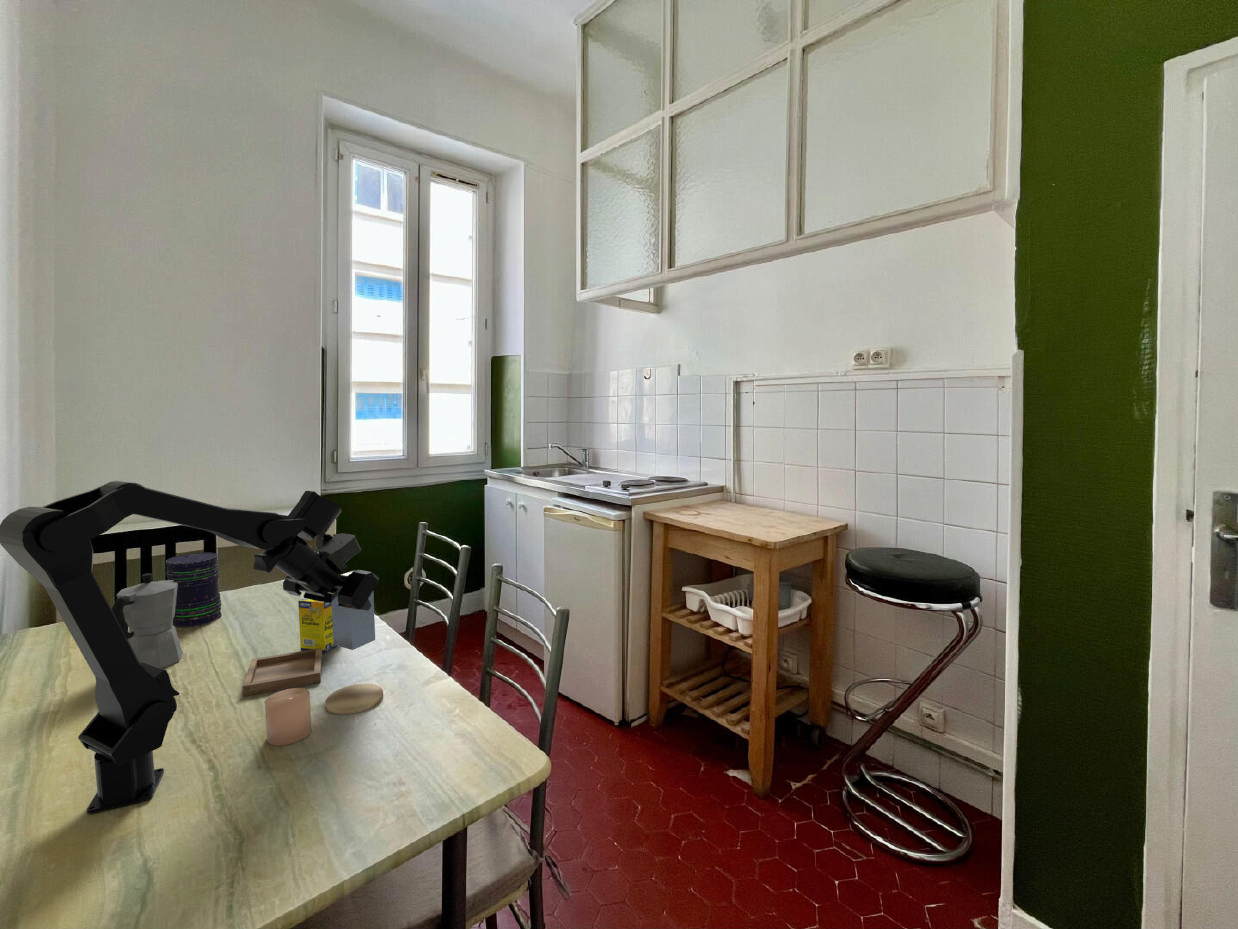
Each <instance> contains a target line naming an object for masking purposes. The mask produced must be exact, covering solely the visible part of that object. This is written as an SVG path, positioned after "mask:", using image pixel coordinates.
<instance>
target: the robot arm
mask: <svg viewBox="0 0 1238 929" xmlns="http://www.w3.org/2000/svg"><path fill="white" fill-rule="evenodd" d="M342 511H343V510H342V508H341V506H340V505H339V504H338V503H337V502H335V501H332V500H330V499H329V498H327V497H325V496H323V495H321V494H318V493H317V492H316V491H314V490H305V491H304V493H303V494H302V495H301V496H300V499H299V501H298V502H297V503H296V505H295V506H294V507H293V509H292V510H290V512H289V514H288V515H284V514H279V513H276V512H271V511H270V512H269V511H261V510H255V509H254V510H253V509H247V508H236V507H235V508H234V507H233V508H231V507H222V506H219V505H215V504H211V503H206V502H202V501H199V500H195V499H191V498H188V497H183V496H179V495H176V494H172V493H167V492H165V491H160V490H157V489H152V488H148V487H146V486H144V485H142V484H140V483H137V482H129V481H119V480H114V481H109V482H106V483H105V484H102V485H100V486H98V487H95V488H93V489H91V490H89V491H84V492H82V493H78V494H75V495H71V496H69V497H65V498H62V499H57V500H55V501H53V502H51V503H49V504H46V505H44V506H28V507H22V508H19V509H17V510H14V511H12V512H10V513H9V514H8V515H7V516H6V517H4V518H3V520H2V521H1V523H0V545H1V547H3V549H4V550H5V551H6V552H7V553H8V555H9V556H11V557H12V559H13V560H14V561H15V562H16V563H17V564H18V565H19V566H21V568H23V569H24V570H25V572H27V573H29V575H31V576H32V577H33V578H34V579H36V580H37V581H38V582H39V583H40V584H41V585H42V586H43V587H44V589H45V591H46V592H47V594H48V596H49V598H50V599H51V602H52V603H53V604H54V607H55V608H56V611H57V612H58V614H59V615H60V617H61V620H62V621H63V622H64V624H65V626H66V628H67V630H68V631H69V633H70V635H71V637H72V638H73V641H75V643H76V645H77V647H78V650H79V651H80V653H81V654H82V657H83V658H84V660H85V661H86V664H88V667H89V669H90V670H91V672H92V674H93V675H94V678H95V689H94V690H95V693H94V697H95V703H96V705H97V708H98V712H97V713H96V714H95V716H94V717H93V718H92V719H91V720H90V722H88V724H87V725H86V727H85V728H84V729H83V730H82V731H81V732H80V734H79V735H78V737H77V738H78V740H79V742H80V743H81V744H82V746H83V748H85V749H86V750H90V751H92V752H94V755H93V756H94V757H93V759H94V760H93V761H94V769H95V779H96V790H97V792H96V794H95V795H94V797H93V798H92V800H91V801H90V803H89V805H88V806H87V808H86V813H87V814H93V813H98V812H102V811H105V810H110V809H115V808H119V807H123V806H128V805H132V804H136V803H140V802H145V801H148V800H150V799H152V798H153V797H154V795H155V792H156V791H157V788H158V786H159V784H160V782H161V779H162V778H163V776H164V773H165V768H161V767H160V768H156V769H155V763H154V762H155V761H154V751H155V750H157V749H159V748H161V747H162V746H163V742H164V739H165V736H166V733H167V729H168V726H169V723H170V722H171V720H172V718H173V717H174V715H175V712H177V709H178V704H177V700H176V698H175V697H176V696H179V695H180V692H179V691H177V690H176V689H175V688H174V687H173V685H172V682H171V677H170V674H169V673H168V671H167V670H166V669H165V668H162V669H161V668H158V667H156V666H153V665H150V664H147V663H145V662H141V663H140V662H139V660H138V659H137V657H136V655H135V653H134V651H133V649H132V647H131V645H130V643H129V641H128V639H127V638H126V636H125V634H124V632H123V630H122V628H121V626H120V624H119V622H118V620H117V619H116V617H115V615H114V613H113V611H112V607H111V605H110V604H109V601H108V600H107V598H106V596H105V594H104V592H103V590H102V588H101V586H100V585H99V582H98V580H97V579H96V577H95V574H94V572H93V571H94V570H93V566H94V564H93V563H94V547H93V543H92V539H93V538H96V537H98V536H100V535H102V534H104V533H106V532H108V531H109V530H111V529H112V528H113V527H115V526H116V525H118V524H119V523H120V522H121V521H123V520H124V519H126V518H128V517H130V516H133V515H135V516H140V517H143V518H148V519H153V520H157V521H160V522H161V521H162V522H165V523H166V522H167V523H172V524H175V525H179V526H184V527H189V528H193V529H197V530H201V531H202V530H203V531H206V532H208V533H211V534H214V535H215V536H216V537H218V538H220V539H223V540H226V541H227V542H231V543H232V544H235V545H238V546H241V547H247V548H251V549H256V550H257V549H258V550H262V551H261V552H260V553H255V554H254V556H253V557H254V562H253V570H254V571H258V572H263V573H268V574H269V573H271V572H272V571H273V569H274V568H276V569H278V570H279V571H281V572H283V573H284V574H285V575H286V576H285V578H284V580H283V582H282V589H283V590H282V591H284V592H286V593H288V594H289V595H292V596H295V597H301V596H302V593H303V592H304V594H303V599H304V598H306V599H311V600H316V601H321V602H328V603H332V601H331V594H335V593H336V592H337V590H338V589H341V590H340V591H339V593H338V602H339V604H338V606H342V607H346V608H353V609H357V610H359V609H361V610H369V609H370V608H371V606H372V605H371V603H370V601H369V599H368V598H369V597H370V595H371V593H372V592H373V593H374V590H375V589H376V587H377V585H378V583H379V582H380V579H379V578H380V577H379V576H378V575H376V574H375V573H374V572H371V571H368V570H361V569H357V570H352V571H353V572H352V573H351V574H349V575H348V576H345V575H341V574H342V573H343V574H344V572H345V571H346V569H347V568H348V566H347V564H345V563H347V562H348V561H350V560H351V559H352V558H354V556H356V555H358V554H360V553H361V551H362V548H361V546H360V543H359V542H358V540H357V539H356V536H355V535H353V534H349V533H338V534H337V533H334V534H332V535H331V534H329V533H328V531H329V529H330V528H331V526H332V525H333V523H334V522H335V521H336V520H337V518H338V517H339V516H340V514H341V512H342ZM315 539H316V548H317V549H315V548H314V547H313V546H312V545H311V544H309V543H308V542H307V541H310V542H313V541H314V540H315ZM305 540H306V541H305Z"/></svg>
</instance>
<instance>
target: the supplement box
mask: <svg viewBox="0 0 1238 929" xmlns="http://www.w3.org/2000/svg"><path fill="white" fill-rule="evenodd" d="M297 601H298V602H297V604H298V605H297V606H298V607H297V608H298V622H299V624H298V625H299V642H300V643H299V644H300V645H299V647H300V651H305V650H311V649H317V648H322V655H323V654H324V655H325V654H327V653H328V652H329V651H331V650H332V649H335V648H336V647H337V646H336V645H334V643H333V622H332V603H328V602H321V601H316V600H311V599H306V598H304V597H303V598H301V599H298V600H297Z"/></svg>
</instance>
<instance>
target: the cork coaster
mask: <svg viewBox="0 0 1238 929" xmlns="http://www.w3.org/2000/svg"><path fill="white" fill-rule="evenodd" d="M383 698H384V690H383V687H381V686H380V685H378V684H376V683H375V684H374V683H359V684H358V683H356V684H352V685H351V684H350V685H348V686H344V687H341V688H339V689H337V690H335V691H334V692H332V693H330V694H329V695H328V696H326V700H325V709H326V710H327V712H329V713H331V714H334V715H340V716H341V715H353V714H354V715H355V714H358V713H361V712H366V711H367V710H370V709H372V708H374V707H376V706H377V705H378V704H379V703H380V702H382V700H383ZM375 705H376V706H375Z"/></svg>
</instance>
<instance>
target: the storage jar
mask: <svg viewBox="0 0 1238 929" xmlns="http://www.w3.org/2000/svg"><path fill="white" fill-rule="evenodd" d="M165 563H166V578H167V580H174V581H173V582H174V583H178V586H177V596H176V606H175V615H174V618H173V619H172V620H173V626H175V628H193V627H199V626H204V625H207V624H210V623H214V622H216V621H217V620H219V619H220V618H222V616H223V615H222V612H221V610H222V600H221V593H220V590H219V578H220V573H219V571H220V568H219V560H218V553H216V552H194V553H187V554H186V553H185V554H181V555H176V556H173V557H170V558H168V559H167V560H166V561H165Z"/></svg>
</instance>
